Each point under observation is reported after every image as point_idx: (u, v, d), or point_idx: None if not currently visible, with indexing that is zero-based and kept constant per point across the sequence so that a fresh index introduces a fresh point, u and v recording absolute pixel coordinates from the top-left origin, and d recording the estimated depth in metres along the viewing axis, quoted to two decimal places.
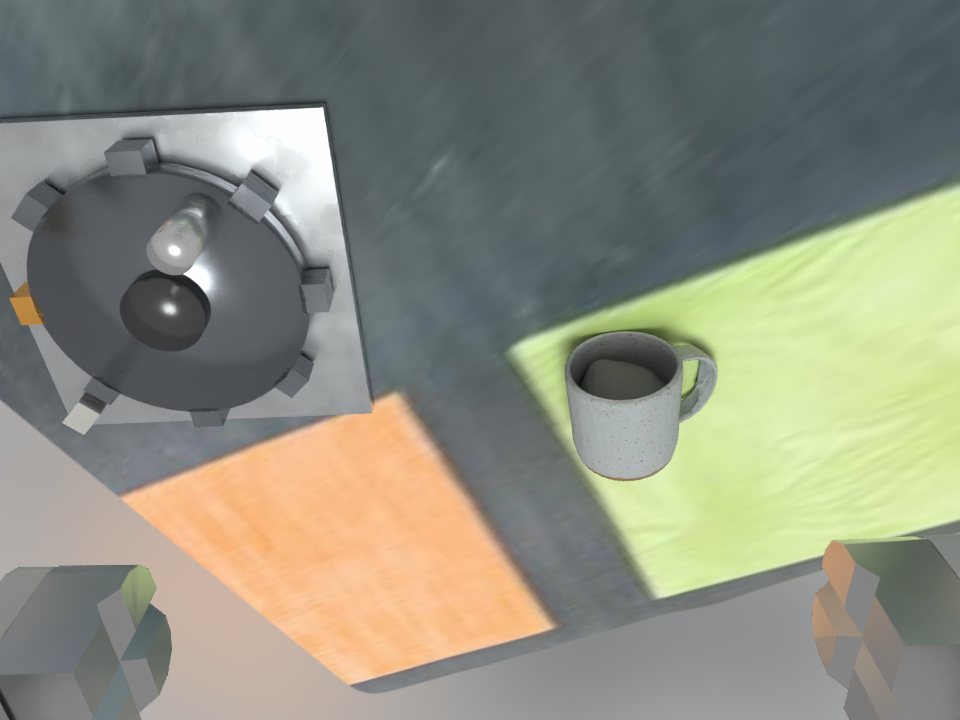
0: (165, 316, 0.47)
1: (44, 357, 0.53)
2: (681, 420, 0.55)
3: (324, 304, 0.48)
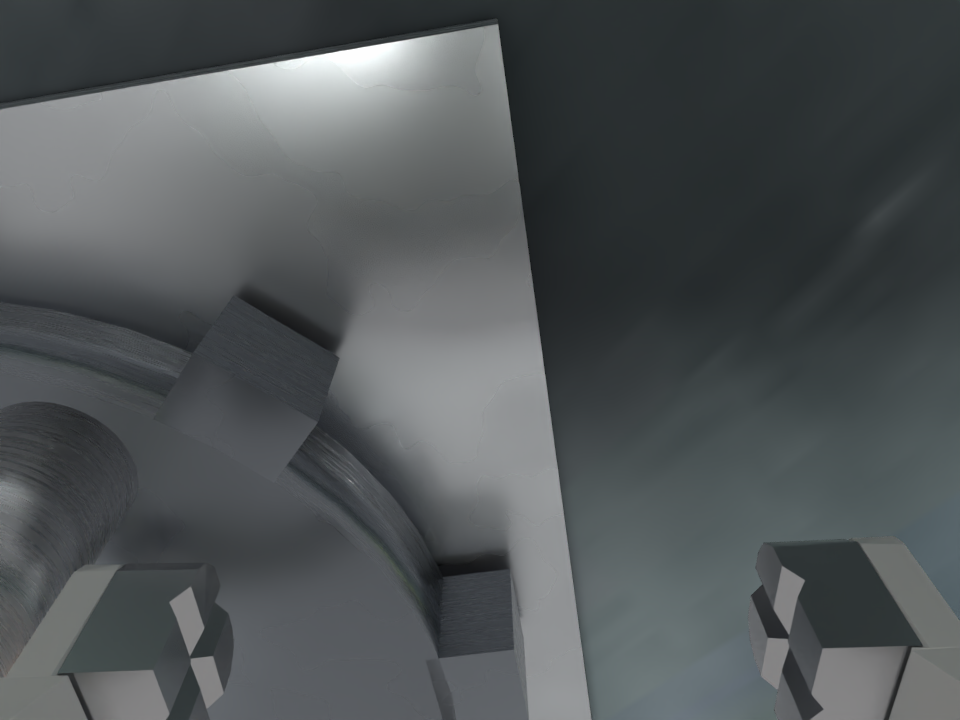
0: None
1: None
2: None
3: (515, 703, 0.14)
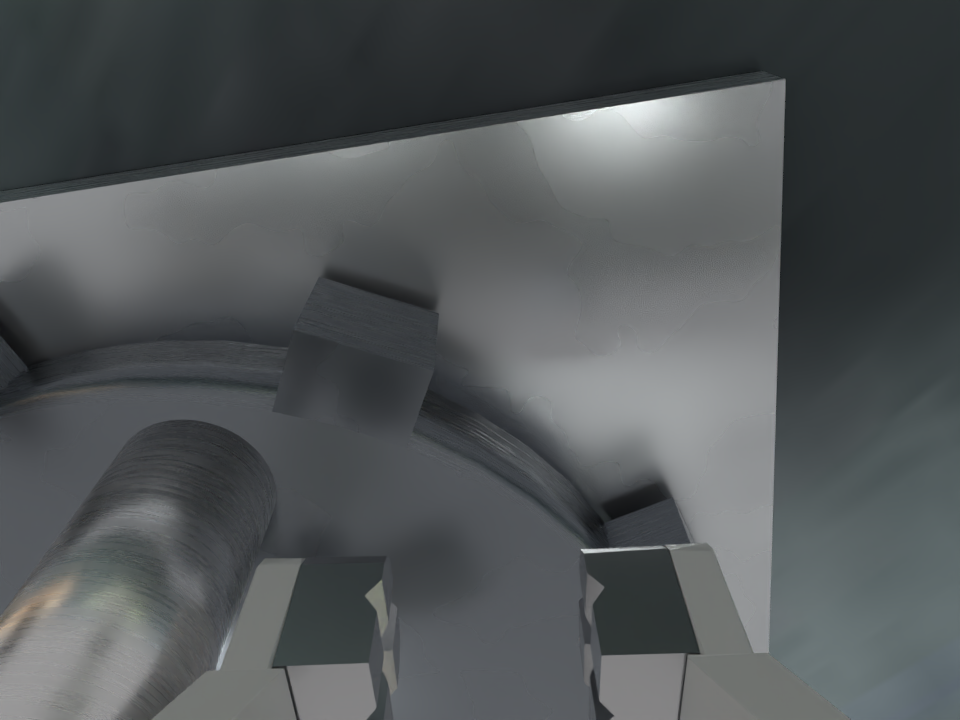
0: None
1: None
2: None
3: None
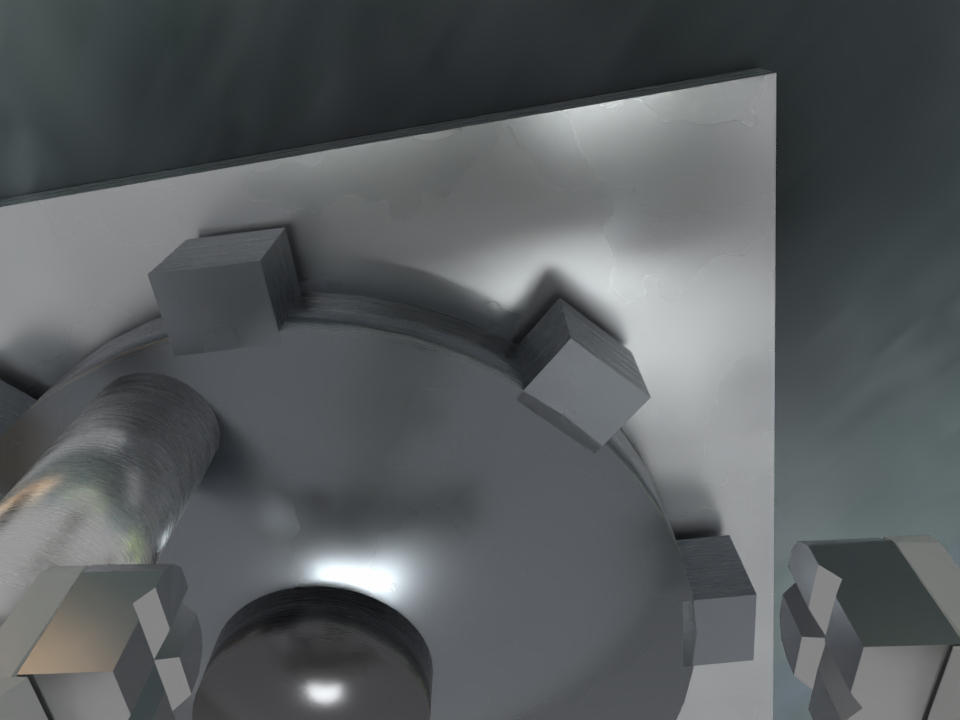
0: (315, 719, 0.16)
1: None
2: None
3: (622, 388, 0.14)
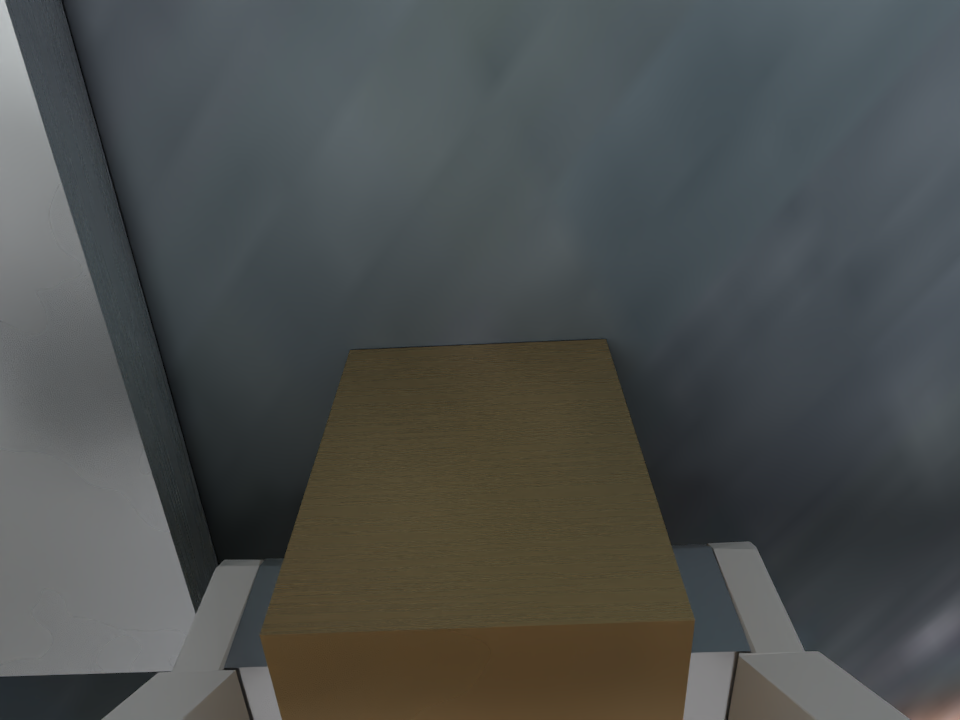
0: None
1: None
2: None
3: None
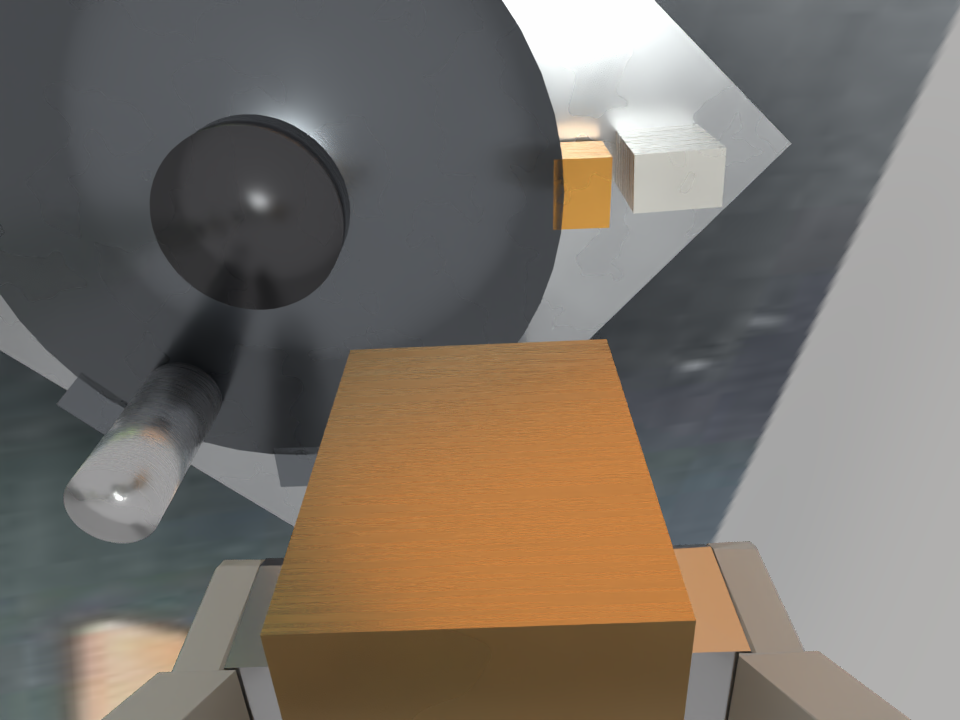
0: (238, 225, 0.20)
1: (643, 282, 0.25)
2: None
3: None
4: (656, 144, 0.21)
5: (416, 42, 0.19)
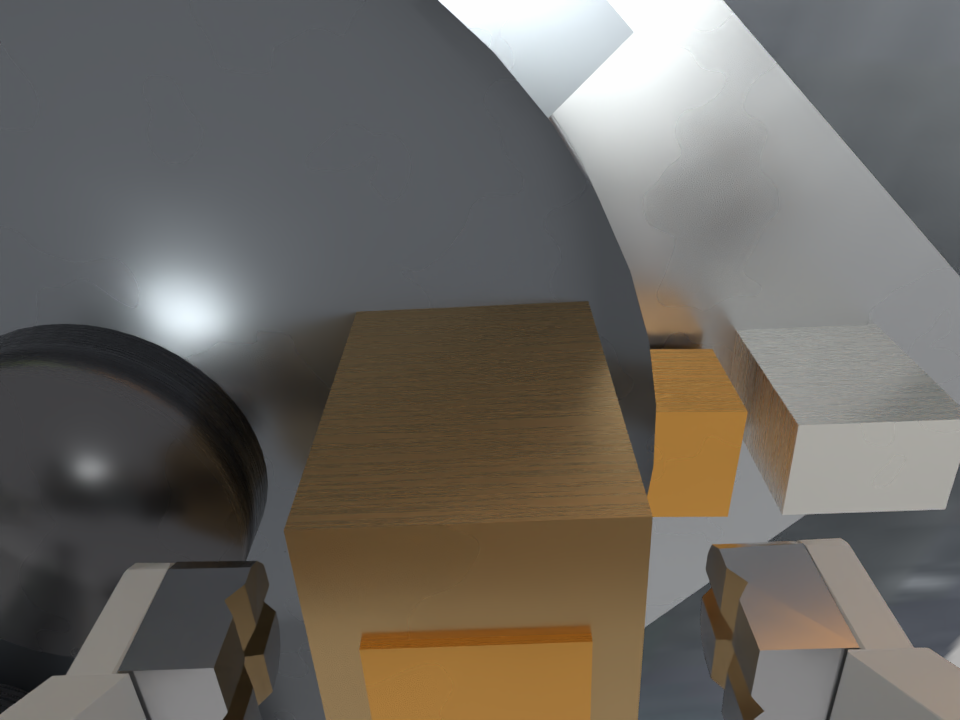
0: (44, 536, 0.11)
1: None
2: None
3: None
4: (827, 388, 0.12)
5: (390, 211, 0.10)
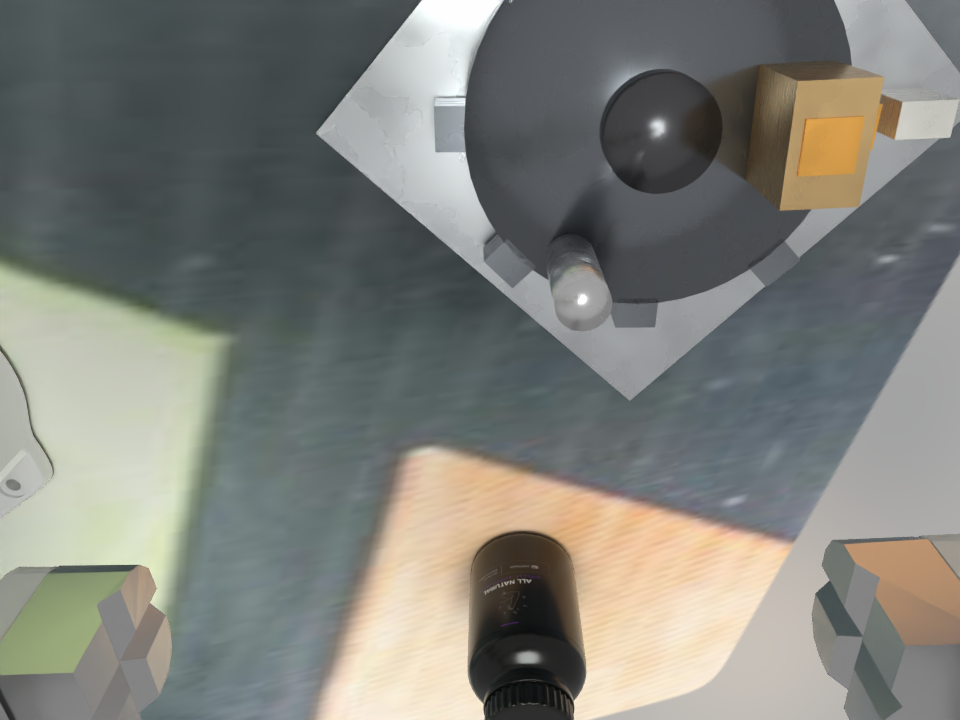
0: (657, 137, 0.33)
1: (870, 194, 0.38)
2: None
3: (438, 118, 0.34)
4: (909, 97, 0.34)
5: (778, 27, 0.32)
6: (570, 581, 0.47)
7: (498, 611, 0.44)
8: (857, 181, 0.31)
